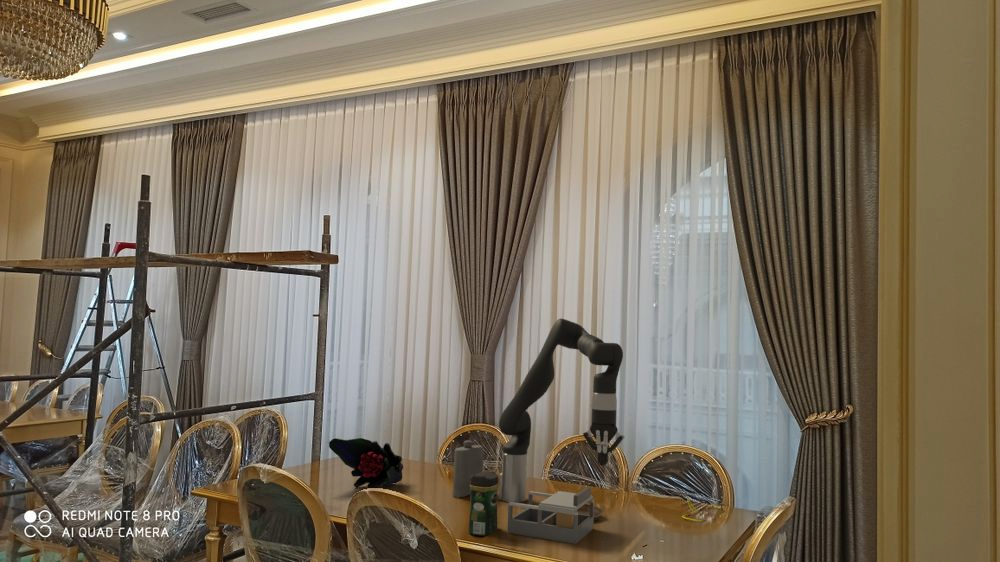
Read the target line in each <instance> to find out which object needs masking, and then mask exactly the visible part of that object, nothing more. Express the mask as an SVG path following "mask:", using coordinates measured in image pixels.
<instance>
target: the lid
mask: <svg viewBox="0 0 1000 562" xmlns="http://www.w3.org/2000/svg"><path fill="white" fill-rule="evenodd" d="M591 493H592V487H591V486H586V487H584V488H582V490H580V491H578V492H576V493H575V492H570V491H560V490H558V491H557V492H555V493H553V495H552V496H550V497H547V498H545V499H544V500H542V501H540V502H539V504H538V506H539V508H538V509H544V510H551V511H558V512H564V513H571V514H575V511H576V510H577V509H579V508H580V507H582V506H583V505H584V504H587V503H588V501H590V500H594V496H593V495H592V494H591Z"/></svg>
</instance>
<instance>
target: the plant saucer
mask: <svg viewBox="0 0 1000 562" xmlns="http://www.w3.org/2000/svg"><path fill="white" fill-rule="evenodd" d="M577 512H578V514H584V515H590V504H587V503H586V504H584V505H583V506H582V507H580V508H579V509H577ZM603 515H604V511H603V510H602V509H601V508H600V507H598V506H595V505H594V521H599V520H600V519H601V518H602V516H603ZM594 521H593V522H594Z"/></svg>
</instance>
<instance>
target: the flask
mask: <svg viewBox="0 0 1000 562" xmlns="http://www.w3.org/2000/svg"><path fill="white" fill-rule="evenodd" d="M453 463H454V464H453V489H452V497H454V496H455V497H454V498H456V497H464V498H466V497H468V496H467V495H469V496H471V495H470V494H471V491H470V477H471V476H473V475H475V474H478V473H481V472H483V470H484V469H483V464H484V446H482V445H477V444H475V445H474V441H472V440H464V441H463V446H460V447H456V448H455V449H454V462H453ZM465 496H466V497H465Z"/></svg>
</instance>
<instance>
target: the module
mask: <svg viewBox="0 0 1000 562" xmlns="http://www.w3.org/2000/svg"><path fill="white" fill-rule="evenodd" d="M576 512H577V510H576ZM573 521H574V515H572V514H565V513H558V512H556V526H562V527H568V528H573Z"/></svg>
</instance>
